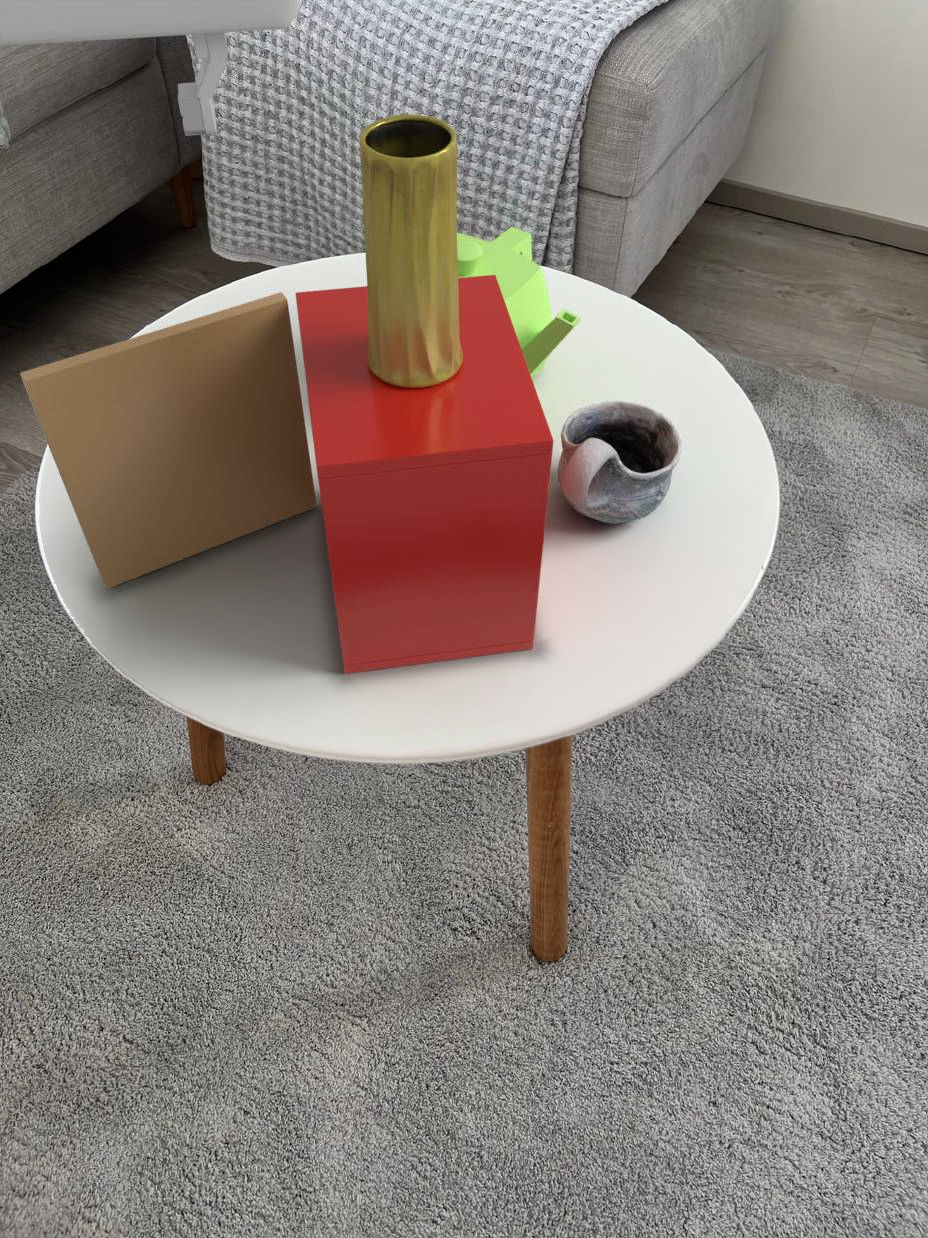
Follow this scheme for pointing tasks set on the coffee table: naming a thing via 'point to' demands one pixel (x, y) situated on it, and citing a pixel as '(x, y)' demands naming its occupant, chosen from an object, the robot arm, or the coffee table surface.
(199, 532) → the door
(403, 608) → the cabinet
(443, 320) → the vase
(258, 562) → the coffee table surface
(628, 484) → the mug
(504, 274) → the teapot
